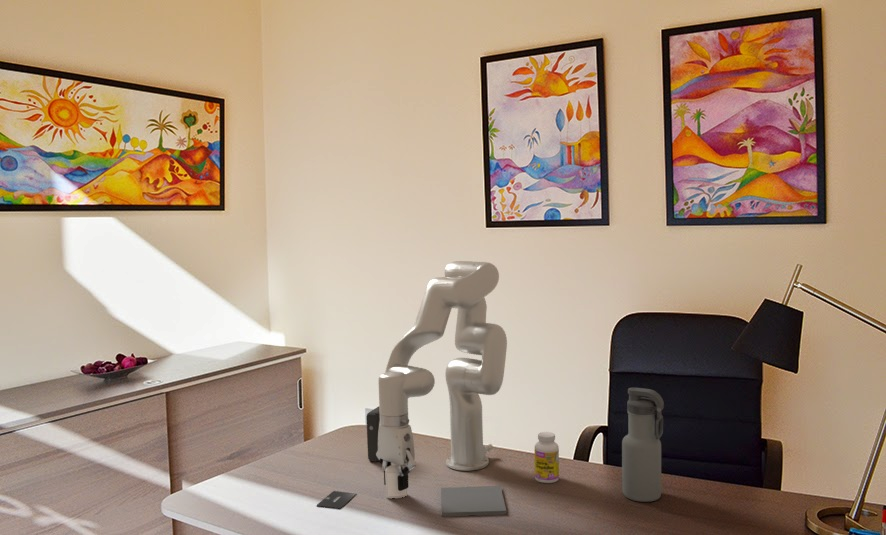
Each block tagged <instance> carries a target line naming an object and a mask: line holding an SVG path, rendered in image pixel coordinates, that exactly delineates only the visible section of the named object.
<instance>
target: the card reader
mask: <svg viewBox="0 0 886 535" xmlns="http://www.w3.org/2000/svg"><path fill="white" fill-rule="evenodd" d="M379 424H380V410H379V406H377V407H376V408H374V409H372V410H371V411H369V412H367V414H366V437H367V438H366V439H367V440H366V442H367V443H366V444H367V445H366V446H367V459H368V461H370V462H380V460H379V459H378V457H377V456H376V453H377V451H378V430H379Z"/></svg>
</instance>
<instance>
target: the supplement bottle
mask: <svg viewBox="0 0 886 535" xmlns="http://www.w3.org/2000/svg"><path fill="white" fill-rule="evenodd" d="M537 439H538V441H537V442H536V443H535V444H534V478H535V480H536V481H537V482H539V483H542V484H553V483H556V482H557V481H559V479H560V478H559V477H560V458H559V457H560V453H559V452H560V449H559V448H560V446H559V445H558V443H557V442H556V434H555V432H551V431H550V432H549V431H541V432H538V434H537Z"/></svg>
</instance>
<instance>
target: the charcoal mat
mask: <svg viewBox="0 0 886 535" xmlns="http://www.w3.org/2000/svg"><path fill="white" fill-rule="evenodd" d="M440 499H441V501H440V502H441V517H442V516H445V517H469V515H477V516H501V515H502V516H504V515H507V507H506V503H505V499H504V495H503V491H502V487H501V485H490V486H489V485H487V486H486V485H485V486H484V485H482V486H451V487H450V486H449V487H440Z"/></svg>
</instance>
